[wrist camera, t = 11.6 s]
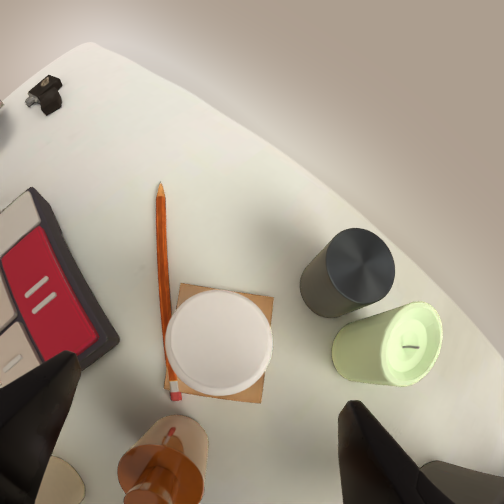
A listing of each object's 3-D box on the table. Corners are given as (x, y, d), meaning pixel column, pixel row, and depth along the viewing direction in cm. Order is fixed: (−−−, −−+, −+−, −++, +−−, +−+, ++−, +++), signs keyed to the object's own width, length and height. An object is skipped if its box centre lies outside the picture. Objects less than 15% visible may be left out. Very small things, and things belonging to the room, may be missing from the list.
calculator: (10, 413, 13) (-49, 255, 15) (37, 406, 17) (-23, 267, 19) (106, 340, 16) (28, 179, 19) (124, 341, 20) (49, 202, 23)
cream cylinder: (87, 512, 14) (33, 568, 4) (38, 490, 14) (-27, 527, 4) (85, 467, 16) (17, 516, 6) (35, 445, 15) (-43, 471, 5)
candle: (388, 373, 21) (455, 373, 13) (335, 388, 20) (392, 399, 13) (380, 316, 23) (443, 294, 15) (326, 326, 22) (379, 308, 14)
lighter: (73, 81, 26) (42, 108, 24) (78, 92, 28) (48, 119, 26) (47, 71, 27) (19, 95, 25) (51, 81, 29) (24, 104, 27)
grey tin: (356, 320, 22) (396, 307, 17) (297, 314, 22) (323, 299, 17) (357, 262, 24) (393, 234, 19) (302, 253, 24) (326, 221, 18)
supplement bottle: (167, 332, 20) (128, 313, 11) (230, 296, 22) (240, 250, 13) (206, 396, 19) (197, 429, 10) (270, 358, 20) (311, 358, 11)
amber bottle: (205, 470, 17) (198, 552, 7) (147, 459, 17) (98, 528, 7) (211, 420, 19) (206, 477, 8) (152, 408, 18) (96, 450, 8)
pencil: (171, 399, 19) (170, 401, 18) (156, 183, 25) (155, 179, 24) (182, 399, 19) (181, 400, 18) (165, 182, 25) (164, 178, 24)
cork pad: (260, 402, 20) (260, 403, 19) (164, 388, 19) (163, 388, 19) (273, 298, 22) (273, 297, 22) (181, 284, 22) (180, 282, 22)
